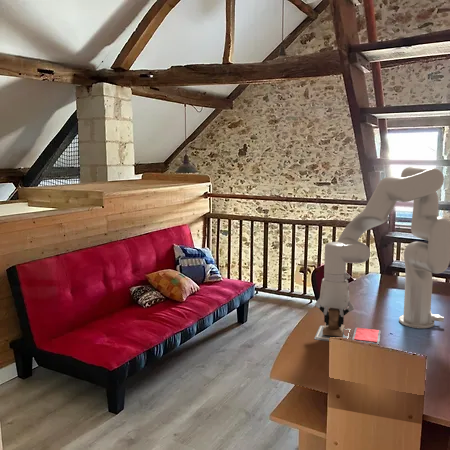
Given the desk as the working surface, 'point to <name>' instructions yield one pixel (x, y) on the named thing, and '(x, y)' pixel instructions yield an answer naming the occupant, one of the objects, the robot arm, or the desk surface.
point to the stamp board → (321, 337)
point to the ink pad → (367, 335)
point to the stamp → (333, 324)
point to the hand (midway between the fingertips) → (333, 324)
